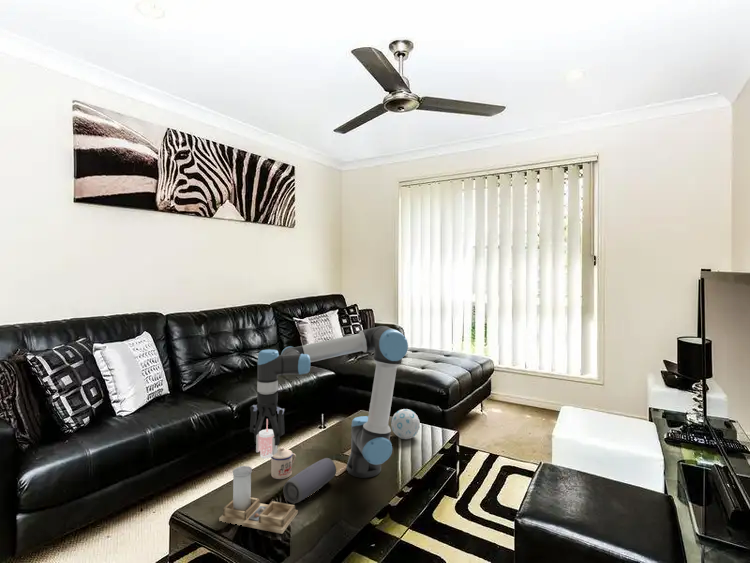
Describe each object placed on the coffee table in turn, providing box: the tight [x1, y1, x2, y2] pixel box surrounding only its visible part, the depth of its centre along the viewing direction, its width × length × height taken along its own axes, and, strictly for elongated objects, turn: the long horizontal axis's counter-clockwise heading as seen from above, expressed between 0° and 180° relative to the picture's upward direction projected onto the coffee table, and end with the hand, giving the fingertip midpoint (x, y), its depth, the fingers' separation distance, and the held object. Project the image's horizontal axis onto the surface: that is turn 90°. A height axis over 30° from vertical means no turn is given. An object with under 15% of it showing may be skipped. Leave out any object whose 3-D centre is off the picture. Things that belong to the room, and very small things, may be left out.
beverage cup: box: [259, 418, 274, 459], centre depth 155 cm, size 6×6×14 cm
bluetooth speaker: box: [282, 457, 337, 505], centre depth 162 cm, size 23×9×10 cm, turn 149°
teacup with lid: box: [270, 446, 297, 480], centre depth 177 cm, size 12×9×12 cm
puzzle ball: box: [390, 408, 421, 440], centre depth 217 cm, size 15×15×15 cm
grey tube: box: [232, 465, 253, 511], centre depth 147 cm, size 7×7×15 cm
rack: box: [218, 497, 299, 535], centre depth 145 cm, size 24×12×4 cm, turn 76°
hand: (266, 451), depth 155 cm, fingers closed on beverage cup, 6 cm apart
